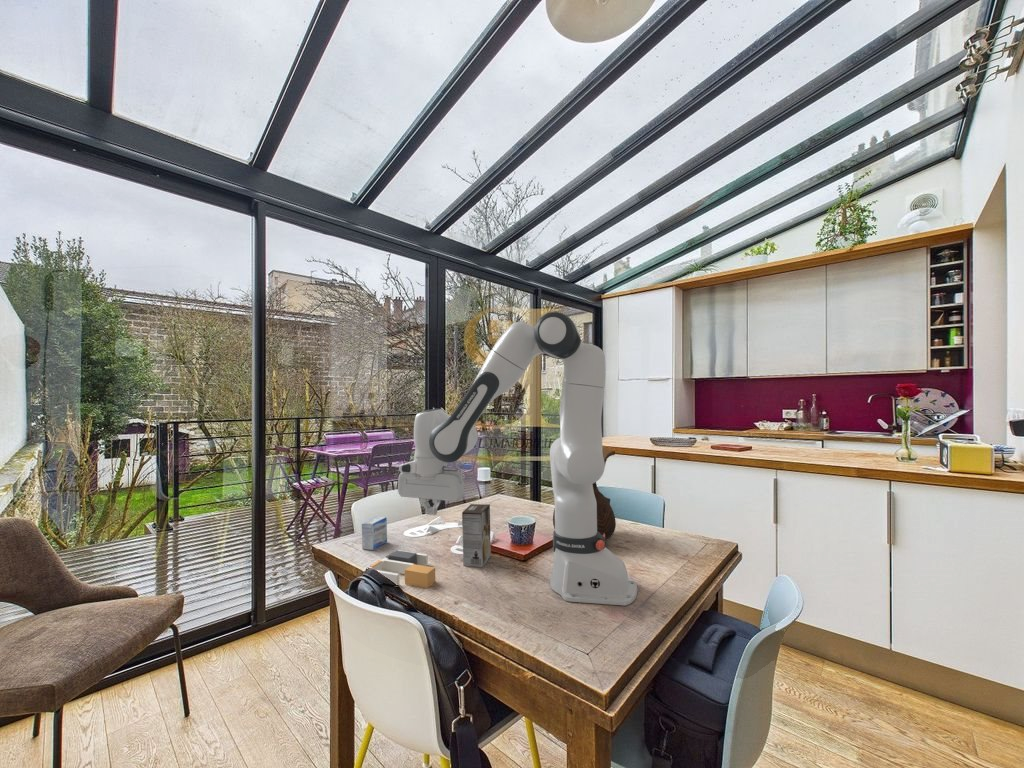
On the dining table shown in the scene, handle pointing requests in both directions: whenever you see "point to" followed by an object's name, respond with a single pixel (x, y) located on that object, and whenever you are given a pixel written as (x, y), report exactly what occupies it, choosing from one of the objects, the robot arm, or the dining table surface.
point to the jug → (602, 507)
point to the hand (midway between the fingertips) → (431, 514)
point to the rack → (396, 566)
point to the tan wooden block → (420, 575)
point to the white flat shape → (435, 527)
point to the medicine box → (374, 533)
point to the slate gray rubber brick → (404, 557)
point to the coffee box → (476, 535)
